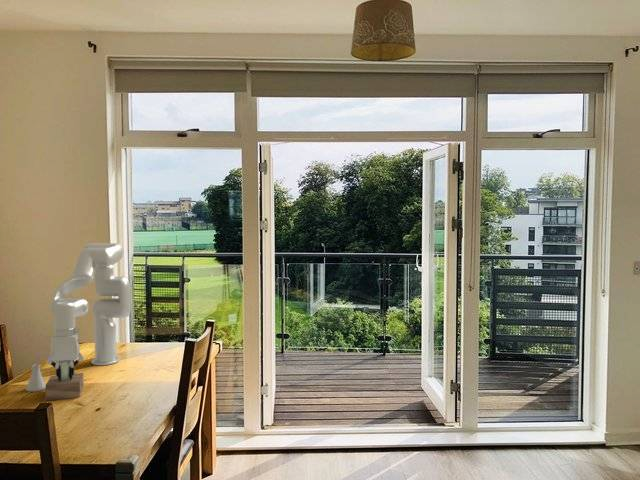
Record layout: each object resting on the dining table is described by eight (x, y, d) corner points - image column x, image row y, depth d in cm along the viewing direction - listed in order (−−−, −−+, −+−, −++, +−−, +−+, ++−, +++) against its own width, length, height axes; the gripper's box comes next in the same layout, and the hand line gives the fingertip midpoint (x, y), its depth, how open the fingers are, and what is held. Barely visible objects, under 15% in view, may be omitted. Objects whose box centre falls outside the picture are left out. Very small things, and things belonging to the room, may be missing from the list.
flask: (50, 387, 203) (50, 363, 203) (35, 393, 197) (34, 368, 196) (37, 385, 206) (37, 362, 205) (22, 390, 199) (21, 366, 199)
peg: (61, 383, 198) (61, 359, 197) (70, 383, 199) (70, 359, 198) (59, 386, 194) (59, 362, 194) (69, 385, 196) (69, 361, 195)
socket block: (51, 389, 200) (51, 375, 200) (83, 386, 205) (83, 372, 204) (45, 400, 189) (45, 385, 189) (79, 396, 193) (79, 382, 193)
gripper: (88, 329, 202) (88, 372, 203) (43, 331, 196) (44, 376, 197) (86, 333, 195) (86, 378, 196) (39, 336, 189) (40, 382, 190)
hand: (65, 376), depth 197 cm, fingers closed on peg, 3 cm apart
